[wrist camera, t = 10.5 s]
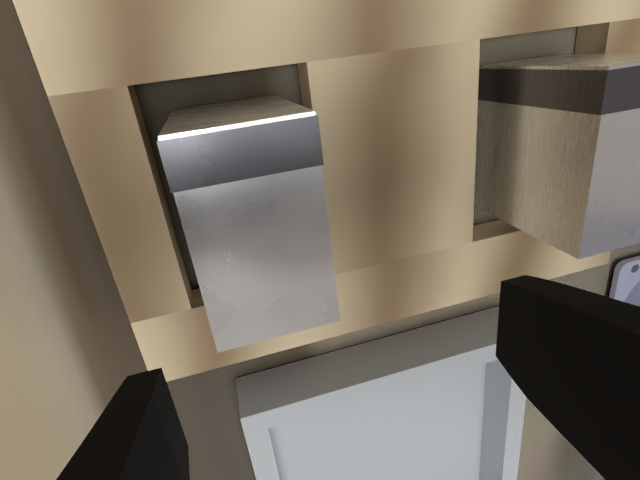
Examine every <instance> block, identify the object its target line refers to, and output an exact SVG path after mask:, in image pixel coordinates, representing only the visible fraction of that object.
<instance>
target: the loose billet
mask: <svg viewBox="0 0 640 480" xmlns="http://www.w3.org/2000/svg"><path fill="white" fill-rule="evenodd" d="M156 142H157V146H158V149H159V153H160V156H161V160H162V164H163V167H164V171H165V174H166V178H167V181H168V185H169V189H170V192H171V193H173V194H174V198H175V201H176V205H177V208H178V212H179V216H180V219H181V223H182V227H183V230H184V234H185V237H186V241H187V245H188V248H189V252H190V255H191V259H192V263H193V266H194V270H195V273H196V277H197V281H198V284H199V288H200V291H201V295H202V299H203V302H204V306H205V309H206V313H207V317H208V320H209V324H210V327H211V331H212V335H213V338H214V342H215V345H216V349H217V353H219V352H223V351H227V350H230V349H234V348H238V347H242V346H246V345H249V344H253V343H257V342H261V341H265V340H269V339H272V338H276V337H280V336H284V335H288V334H291V333H295V332H299V331H303V330H307V329H310V328H314V327H318V326H322V325H326V324H329V323H333V322H337V321H340V314H339V306H338V297H337V289H336V281H335V272H334V264H333V256H332V247H331V239H330V231H329V222H328V214H327V205H326V197H325V189H324V180H323V172H322V165H324V162H323V154H322V145H321V137H320V128H319V120H318V115H316V114H315V111H314V110H311V109H309V108H306V107H304V106H301V105H299V104H296V103H294V102H291V101H289V100H286V99H284V98H281V97H279V96H276V95H268V96H261V97H255V98H248V99H241V100H235V101H228V102H221V103H215V104H208V105H201V106H195V107H188V108H181V109H175V110H172V112H171V113H170V115H169V117H168V119H167V120H166V122H165V124H164V126H163V127H162V129H161V131H160V133H159V135H158V139H157V141H156Z"/></svg>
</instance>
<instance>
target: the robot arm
mask: <svg viewBox="0 0 640 480" xmlns="http://www.w3.org/2000/svg"><path fill="white" fill-rule="evenodd" d="M495 356H496V357H497V359H498V360H499V361H500V363H501V364H502V366H503V367H504V368H505V370H506V371H507V373H508V374H509V375H510V377H511V378H512V379H513V381H514V382H515V383H516V384H517V386H518V387H519V388H520V390H521V391H522V392H523V394H524V395H525V396H526V397H527V398H528V399H529V400H530V401H531V402H532V403H533V405H534V406H535V407H536V408H537V409H538V410H539V411H540V412H541V413H542V414H543V415H544V416H545V417H546V418H547V419H548V420H549V421H550V423H551V424H552V425H553V426H554V427H555V428H556V429H557V430H558V431H559V432H560V433H561V434H562V435H563V436H564V437H565V438H566V439H567V440H568V441H569V442H570V443H571V444H572V445H573V446H574V447H575V448H576V449H577V450H578V452H579V453H580V454H581V455H582V456H583V457H584V458H585V459H586V460H587V461H588V462H589V463H590V464H591V465H592V466H593V467H594V468H595V469H596V470H597V471H598V472H599V473H600V474H601V475H602V476H603V477H604V478H605V479H606V480H640V256H636V257H632V258H629V259H625V260H622V261H620V262H619V263H618V264H617V265H616V266H615V269H614V274H613V279H612V284H611V289H610V294H609V297H606V296H602V295H599V294H596V293H592V292H589V291H586V290H582V289H579V288H575V287H572V286H568V285H565V284H561V283H558V282H554V281H550V280H546V279H542V278H538V277H533V276H528V275H523V276H519V277H515V278H511V279H507V280H503V281H501V288H500V301H499V315H498V328H497V342H496V355H495ZM56 480H190V477H189V456H188V444H187V441H186V438H185V435H184V432H183V430H182V427H181V424H180V421H179V418H178V415H177V412H176V409H175V406H174V403H173V400H172V397H171V394H170V391H169V388H168V385H167V383H166V380H165V377H164V374H163V371H162V368H158V369H154V370H150V371H146V372H142V373H138V374H134V375H131V376H127V377H126V379H125V380H124V382H123V383H122V385H121V386H120V387H119V389H118V390H117V392H116V393H115V395H114V396H113V398H112V399H111V401H110V402H109V404H108V405H107V407H106V408H105V410H104V411H103V413H102V414H101V416H100V417H99V419H98V420H97V422H96V423H95V425H94V426H93V428H92V429H91V430H90V432H89V433H88V435H87V436H86V438H85V439H84V441H83V442H82V444H81V445H80V447H79V448H78V450H77V451H76V452H75V454H74V455H73V457H72V458H71V459H70V461H69V462H68V464H67V465H66V467H65V468H64V469H63V471H62V472H61V474H60V475H59V477H58V478H57V479H56Z"/></svg>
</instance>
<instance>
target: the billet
mask: <svg viewBox="0 0 640 480" xmlns="http://www.w3.org/2000/svg"><path fill="white" fill-rule="evenodd" d="M474 206H475V207H477V208H479V209H481V210H483V211H485V212H487V213H489V214H491V215H493V216H495V217H496V218H498V219H500V220H502V221H504V222H506V223H508V224H510V225H512V226H514V227H516V228H518V229H520V230H522V231H524V232H526V233H528V234H530V235H532V236H534V237H536V238H538V239H540V240H542V241H543V242H545V243H547V244H549V245H551V246H553V247H555V248H557V249H559V250H561V251H563V252H565V253H567V254H569V255H571V256H573V257H575V258H577V259H582V258H586V257H590V256H593V255H597V254H601V253H605V252H609V251H613V250H616V249H620V248H624V247H628V246H632V245H636V244H639V243H640V52H635V53H598V54H562V55H549V56H542V57H535V58H528V59H522V60H515V61H508V62H501V63H494V64H487V65H481V66H479V83H478V109H477V136H476V163H475V189H474Z"/></svg>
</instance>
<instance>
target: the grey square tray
mask: <svg viewBox="0 0 640 480" xmlns="http://www.w3.org/2000/svg"><path fill="white" fill-rule="evenodd" d="M498 315H499V306H497V307H493V308H490V309H486V310H482V311H479V312H475V313H471V314H468V315H464V316H461V317H457V318H453V319H450V320H446V321H442V322H439V323H435V324H431V325H428V326H424V327H420V328H417V329H413V330H410V331H406V332H402V333H399V334H395V335H391V336H388V337H384V338H380V339H377V340H373V341H369V342H366V343H362V344H359V345H355V346H351V347H348V348H344V349H340V350H337V351H333V352H329V353H326V354H322V355H318V356H315V357H311V358H308V359H304V360H300V361H297V362H293V363H289V364H286V365H282V366H278V367H275V368H271V369H267V370H264V371H260V372H257V373H253V374H249V375H246V376H242V377H238V378H235V380H236V388H237V396H238V405H239V413H240V420H241V424H242V427H243V431H244V435H245V439H246V443H247V446H248V450H249V454H250V458H251V461H252V465H253V469H254V473H255V477H256V480H517V473H518V464H519V455H520V447H521V438H522V429H523V421H524V412H525V403H526V396H525V395H524V394H523V392H522V391H521V390H520V388H519V387H518V386H517V384H516V383H515V382H514V381H513V379H512V378H511V377H510V375H509V374H508V373H507V371H506V370H505V368H504V367H503V366H502V364H501V363H500V361H499V360H498V359H497V357H496V356H495V355H496V342H497V328H498Z"/></svg>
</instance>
